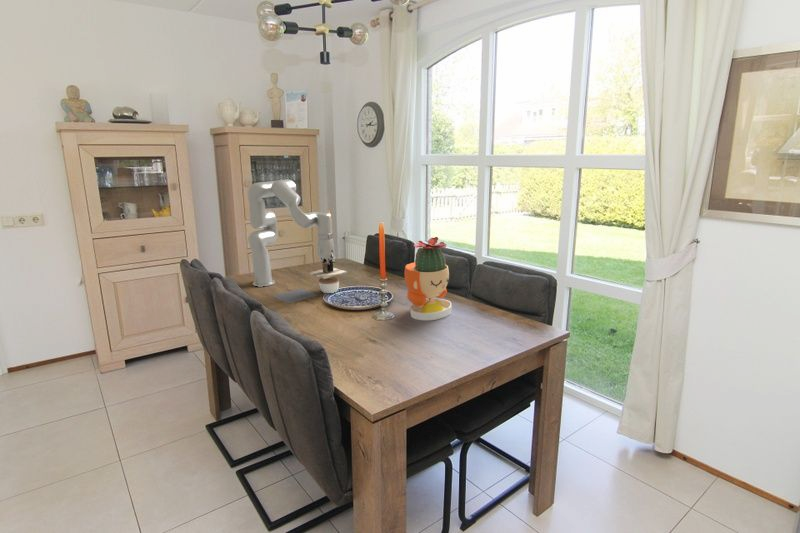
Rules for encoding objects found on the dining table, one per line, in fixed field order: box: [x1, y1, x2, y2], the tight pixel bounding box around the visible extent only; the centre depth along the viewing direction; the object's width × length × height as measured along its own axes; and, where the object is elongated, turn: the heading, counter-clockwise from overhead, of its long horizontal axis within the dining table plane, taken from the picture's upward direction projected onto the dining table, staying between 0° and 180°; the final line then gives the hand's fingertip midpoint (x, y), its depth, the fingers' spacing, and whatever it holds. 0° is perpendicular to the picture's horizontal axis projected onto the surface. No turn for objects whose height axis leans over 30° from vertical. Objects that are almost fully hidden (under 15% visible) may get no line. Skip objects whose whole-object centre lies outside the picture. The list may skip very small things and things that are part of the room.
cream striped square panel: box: [272, 288, 319, 305], centre depth 243 cm, size 18×18×1 cm
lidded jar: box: [318, 276, 340, 294], centre depth 245 cm, size 11×11×9 cm
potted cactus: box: [403, 236, 452, 321], centre depth 209 cm, size 22×22×35 cm
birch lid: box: [308, 261, 349, 279], centre depth 243 cm, size 15×15×6 cm
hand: (328, 270), depth 243 cm, fingers closed on birch lid, 4 cm apart
